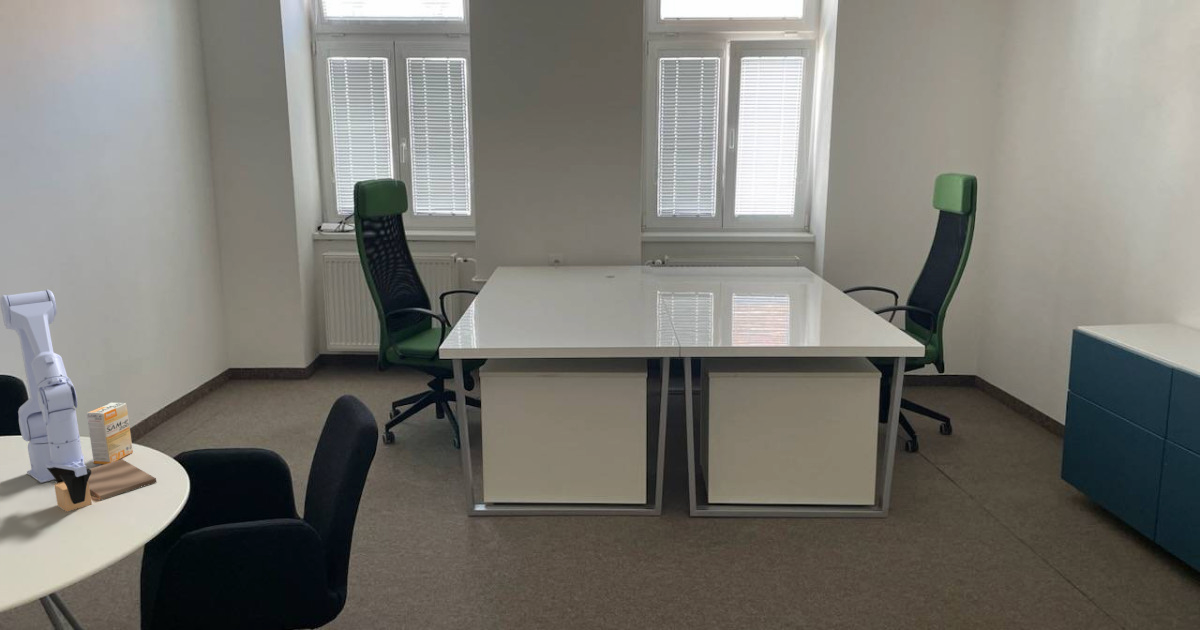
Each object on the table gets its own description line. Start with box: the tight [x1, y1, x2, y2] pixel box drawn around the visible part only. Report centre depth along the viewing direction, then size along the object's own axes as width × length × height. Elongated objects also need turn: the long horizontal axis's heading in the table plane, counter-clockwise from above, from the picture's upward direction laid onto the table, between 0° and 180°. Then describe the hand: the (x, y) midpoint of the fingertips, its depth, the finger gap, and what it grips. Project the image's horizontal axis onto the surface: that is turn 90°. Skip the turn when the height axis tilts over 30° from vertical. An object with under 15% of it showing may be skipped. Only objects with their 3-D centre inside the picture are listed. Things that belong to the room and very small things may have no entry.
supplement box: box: [86, 402, 134, 465], centre depth 217 cm, size 8×5×13 cm, turn 168°
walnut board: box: [88, 458, 157, 501], centre depth 206 cm, size 18×12×1 cm, turn 50°
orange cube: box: [53, 482, 93, 512], centre depth 193 cm, size 5×5×5 cm
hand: (73, 498), depth 193 cm, fingers closed on orange cube, 5 cm apart
